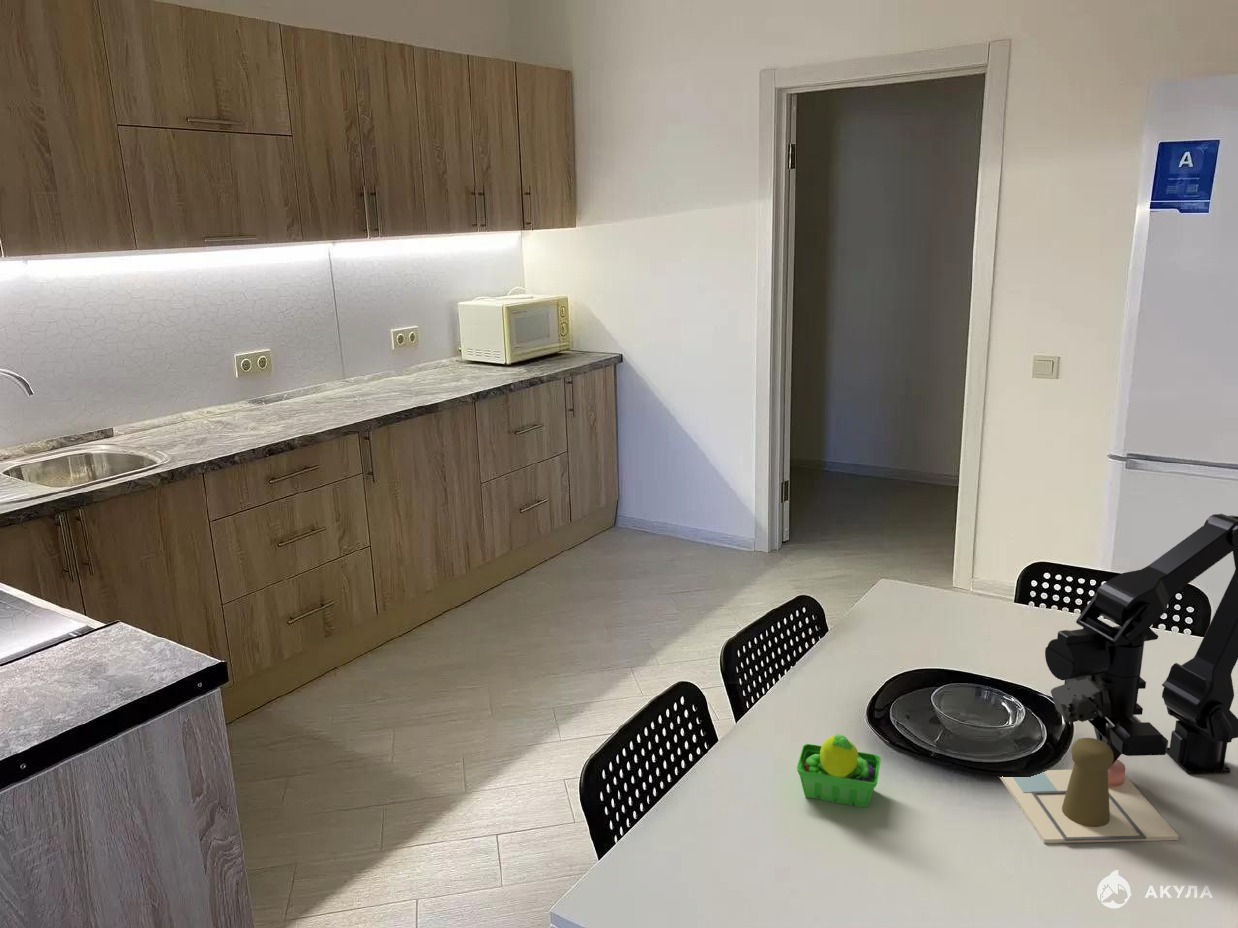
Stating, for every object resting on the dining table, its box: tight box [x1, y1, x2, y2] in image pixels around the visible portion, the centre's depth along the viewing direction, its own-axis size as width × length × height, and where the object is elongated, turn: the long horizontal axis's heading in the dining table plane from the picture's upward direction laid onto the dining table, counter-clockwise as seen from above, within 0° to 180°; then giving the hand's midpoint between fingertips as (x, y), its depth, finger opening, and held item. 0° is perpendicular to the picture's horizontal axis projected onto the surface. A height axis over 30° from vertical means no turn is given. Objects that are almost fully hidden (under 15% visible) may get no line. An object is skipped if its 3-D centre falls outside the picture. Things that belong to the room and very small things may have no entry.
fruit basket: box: [796, 734, 882, 809], centre depth 138 cm, size 11×9×11 cm
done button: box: [1108, 759, 1127, 786], centre depth 141 cm, size 5×5×2 cm
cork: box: [1062, 737, 1114, 827], centre depth 131 cm, size 6×6×11 cm
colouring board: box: [999, 769, 1180, 844], centre depth 135 cm, size 18×16×1 cm
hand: (1106, 764), depth 140 cm, fingers closed, pressing on done button
